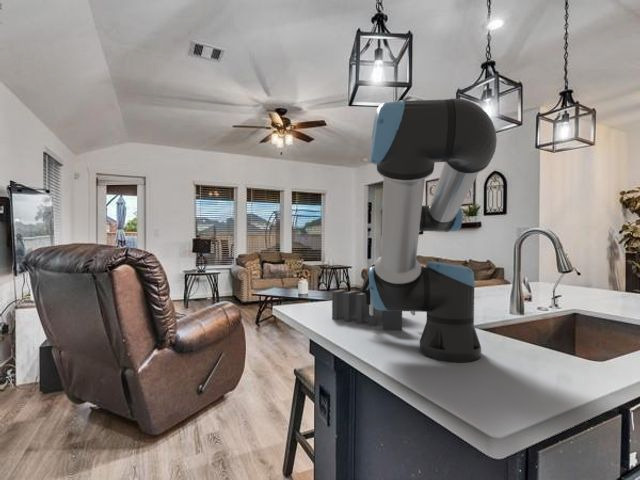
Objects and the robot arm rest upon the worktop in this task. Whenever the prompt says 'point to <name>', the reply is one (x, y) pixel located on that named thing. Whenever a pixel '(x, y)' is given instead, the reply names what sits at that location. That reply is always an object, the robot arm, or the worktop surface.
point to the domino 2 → (350, 306)
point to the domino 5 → (391, 320)
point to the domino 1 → (338, 304)
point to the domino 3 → (361, 309)
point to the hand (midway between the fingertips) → (392, 314)
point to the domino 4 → (375, 317)
